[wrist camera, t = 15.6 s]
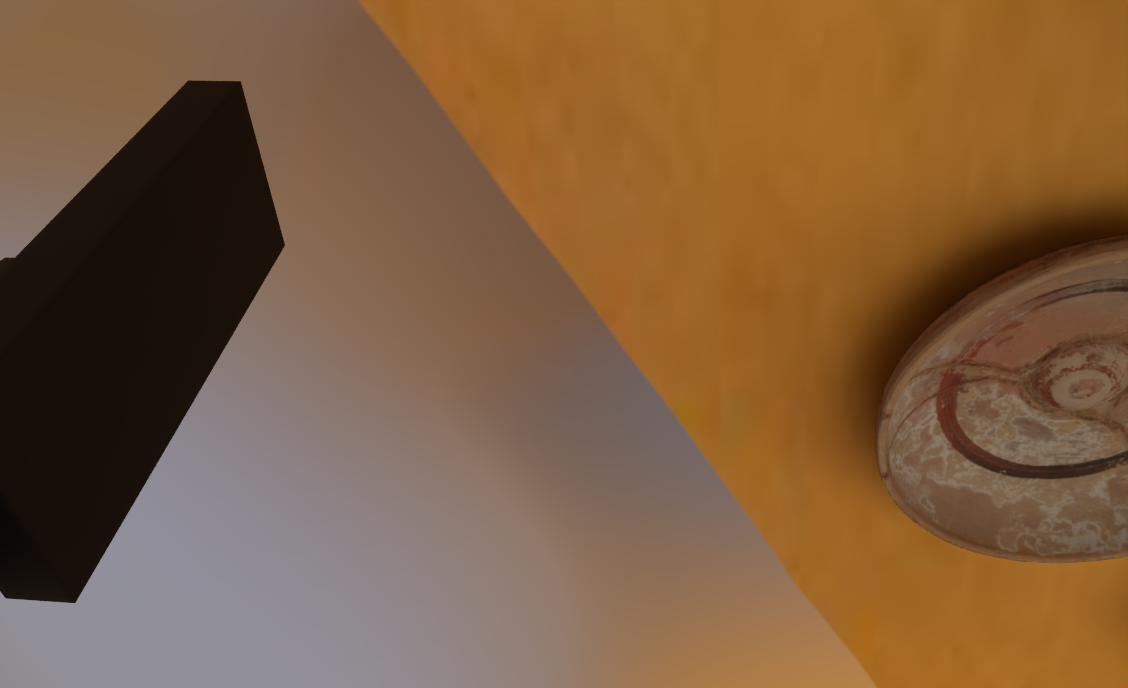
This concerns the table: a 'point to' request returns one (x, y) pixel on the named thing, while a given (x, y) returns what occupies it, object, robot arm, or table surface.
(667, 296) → the table surface
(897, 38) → the table surface
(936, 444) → the ceramic bowl
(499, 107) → the table surface
